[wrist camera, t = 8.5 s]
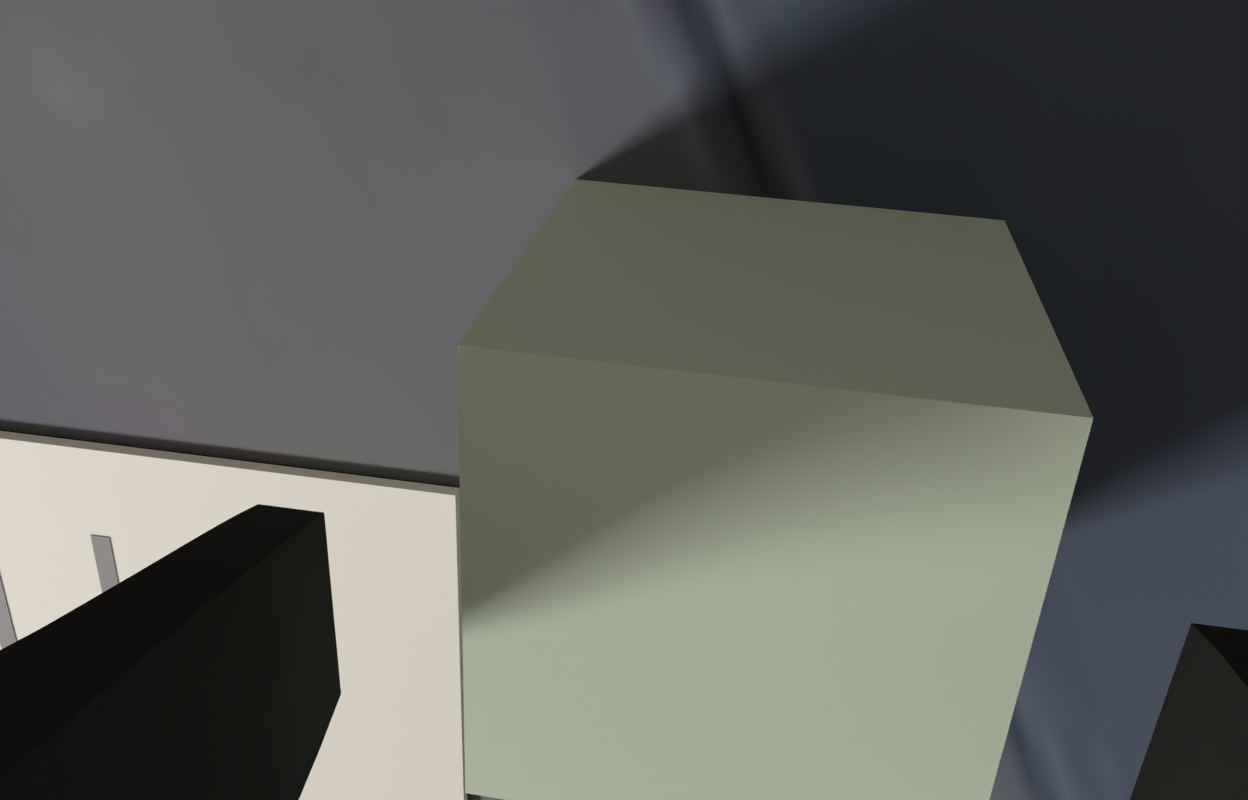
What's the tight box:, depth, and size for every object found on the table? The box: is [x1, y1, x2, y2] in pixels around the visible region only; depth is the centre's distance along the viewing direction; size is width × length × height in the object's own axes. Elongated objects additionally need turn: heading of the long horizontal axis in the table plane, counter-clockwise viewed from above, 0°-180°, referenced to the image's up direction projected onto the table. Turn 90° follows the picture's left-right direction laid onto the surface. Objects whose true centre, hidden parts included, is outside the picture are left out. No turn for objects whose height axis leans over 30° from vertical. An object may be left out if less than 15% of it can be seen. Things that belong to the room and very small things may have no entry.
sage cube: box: [457, 179, 1093, 800], centre depth 12 cm, size 5×5×5 cm
